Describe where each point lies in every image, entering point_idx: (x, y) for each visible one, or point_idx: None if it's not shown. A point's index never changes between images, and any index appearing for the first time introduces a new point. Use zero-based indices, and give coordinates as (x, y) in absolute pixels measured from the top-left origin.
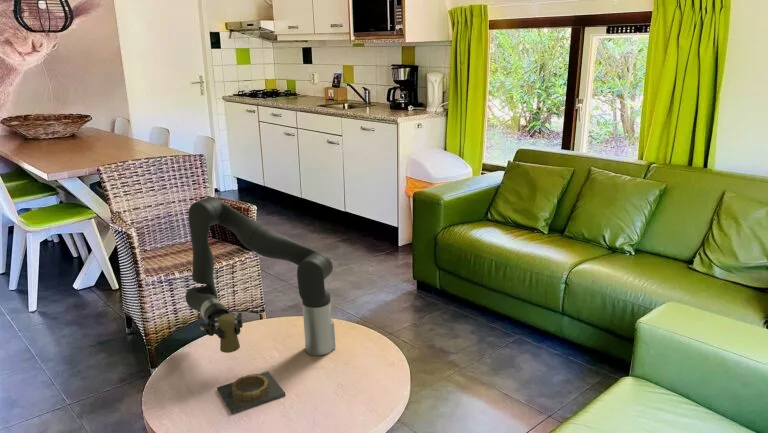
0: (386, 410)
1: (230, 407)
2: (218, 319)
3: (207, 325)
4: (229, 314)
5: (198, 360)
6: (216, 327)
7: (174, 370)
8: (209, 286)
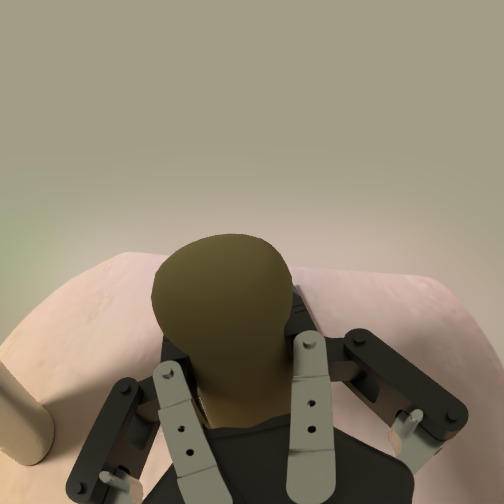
0: (98, 266)
1: (293, 290)
2: (282, 262)
3: (396, 383)
4: (176, 268)
5: None
6: (314, 338)
7: (485, 478)
8: None
